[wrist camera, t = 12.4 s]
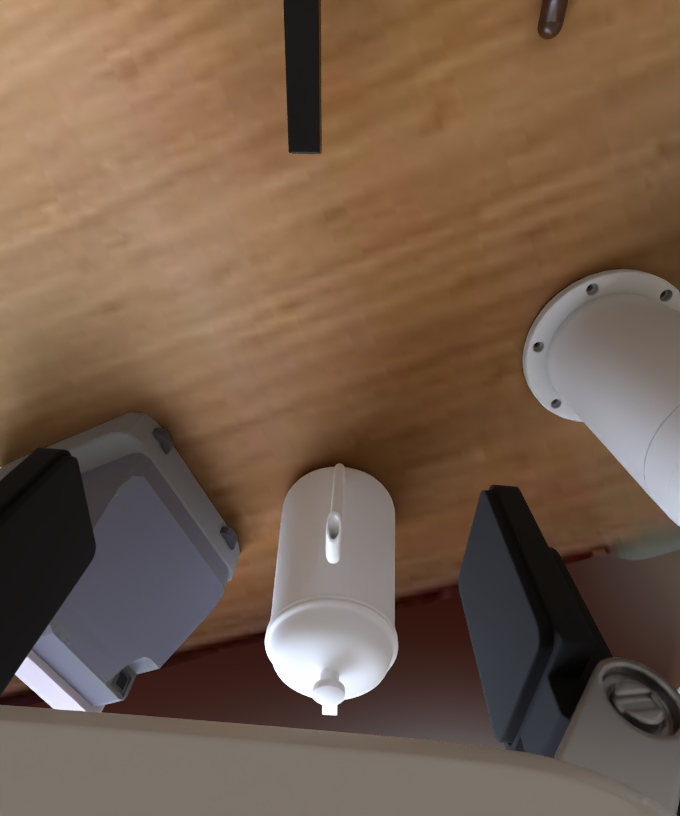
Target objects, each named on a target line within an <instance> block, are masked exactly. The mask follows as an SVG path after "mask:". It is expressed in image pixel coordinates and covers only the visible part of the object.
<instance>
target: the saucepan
mask: <svg viewBox="0 0 680 816" xmlns="http://www.w3.org/2000/svg"><path fill="white" fill-rule="evenodd" d="M284 29H285V58H286V87H287V115H288V144H289V153H292V154H321V153H322V127H321V0H284Z"/></svg>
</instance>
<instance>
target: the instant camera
mask: <svg viewBox="0 0 680 816" xmlns="http://www.w3.org/2000/svg"><path fill="white" fill-rule="evenodd" d="M173 445H174V443H173V439H172V438H171V436H170V434H169V433H168V431H167V430H165V429H163V428H161V427H160V425H159V424H158V423H157V422H156V421H155V420H154V419H152V418H151V417H150V416H148V415H147V414H146V413H126V414H124V415H122V416H119V417H117V418H114V419H112V420H110V421H107V422H105V423H103V424H100V425H98V426H95V427H93V428H91V429H88V430H86V431H83V432H81V433H79V434H76V435H74V436H71V437H69V438H67V439H64V440H62V441H60V442H57V443H55V444H52V445H50V446H48V447H45V448H54V449H65V450H68V451H69V452H70V453H71V456H73V457H76V458H77V460H78V463H79V468H80V472H81V477H82V482H83V486H84V491H85V496H86V500H87V505H88V510H89V514H90V519H91V524H92V528H93V533H94V538H95V542H96V551H95V555H94V558H93V560H92V562H91V563H90V564H89V566H88V567H87V569H86V570H85V572H84V573H83V575H82V576H81V578H80V579H79V581H78V582H77V584H76V585H75V586H74V588H73V589H72V591H71V592H70V594H69V595H68V597H67V598H66V600H65V601H64V603H63V604H62V606H61V607H60V609H59V610H58V611H57V613H56V614H55V616H54V617H53V619H52V620H51V622H50V623H49V625H48V626H47V628H46V629H45V631H44V632H43V634H42V635H41V636H40V638H39V639H38V641H37V642H36V644H35V645H34V647H33V648H32V650H31V651H30V653H29V654H28V656H27V657H26V659H25V660H24V661H23V663H22V664H21V666H20V667H19V669H18V670H17V672H16V673H15V675H16V676H17V677H19V678H20V679H21V680H22V681H23V682H24V683H25V684H26V685H28V686H29V687H30V688H31V689H32V690H33V691H34V692H35V693H36V694H38V695H39V696H40V697H41V698H42V699H43V700H44V701H45V702H47V703H48V704H49V705H50V706H51V707H52V708H53V709H61V710H74V711H87V712H100V713H101V712H102V710H103V708H104V706H105V705H106V704H110V703H114V702H117V701H122V700H124V699H125V698H126V697H127V695H128V693H129V691H130V689H131V686H132V684H133V681H134V680H135V677H136V675H137V674H140V673H144V672H148V671H152V670H155V669H159V668H160V667H161V666H162V665H163V664H164V663H165V662H166V661H167V660H168V658H169V657H170V656H171V655H172V654H173V653H174V652H175V651H176V650H177V649H178V648H179V646H180V645H181V644H182V643H183V642H184V641H185V640H186V639H187V638H188V637H189V635H190V634H191V633H192V632H193V631H194V630H195V629H196V628H197V627H198V626H199V624H200V623H201V622H202V621H203V620H204V619H205V618H206V617H207V616H208V615H209V613H210V612H211V611H212V610H213V609H214V608H215V606H216V605H217V603H218V602H219V600H220V599H221V597H222V595H223V593H224V590H225V587H226V584H227V581H229V580H231V579H232V578H233V574H234V571H235V568H236V565H237V561H238V558H239V555H240V550H239V543H238V542H237V535H236V534H235V532H234V531H233V529H232V528H230V527H227V525H226V524H225V522H224V521H223V519H222V518H221V516H220V515H219V513H218V512H217V510H216V509H215V507H214V506H213V504H212V503H211V501H210V500H209V498H208V497H207V495H206V494H205V492H204V491H203V489H202V488H201V486H200V485H199V483H198V482H197V480H196V479H195V477H194V476H193V474H192V473H191V471H190V470H189V468H188V467H187V465H186V464H185V462H184V461H183V459H182V458H181V456H180V455H179V453H178V452H177V450H176V449H175V447H174V446H173ZM29 455H30V454H29ZM29 455H26V456H24V457H21V458H19V459H17V460H14V461H12V462H9V463H7V464H6V465H4V466H3V467H2V468H1V469H0V480H1V479H2V478H4V477H5V476H6V475H7V474H8V473H9V472H11V471H12V470H13V469H14V468H15V467H16V466H17V465H19V464H20V463H21V462H22V461H23V460H24V459H25V458H27V457H28V456H29Z"/></svg>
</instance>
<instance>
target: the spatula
mask: <svg viewBox="0 0 680 816" xmlns="http://www.w3.org/2000/svg"><path fill="white" fill-rule="evenodd" d="M567 4H568V0H543V4H542V9H541V13H540V18H539V23H538V33H539V35H540V36H541V37H542V38H543V39H552V38H554V37H555V36H556V35H557V34H558V33H559V32H560V30H561V28H562V25H563V21H564V17H565V12H566V8H567Z"/></svg>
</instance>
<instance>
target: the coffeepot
mask: <svg viewBox="0 0 680 816" xmlns="http://www.w3.org/2000/svg"><path fill="white" fill-rule="evenodd" d="M394 613H395V509H394V505H393V501H392V498H391V496H390V494H389V493H388V491H387V490H386V489H385V487H384V486H383V485H382V484H381V483H380V482H379V481H378V480H377V479H375V478H374V477H372V476H371V475H369V474H367V473H365V472H363V471H360V470H357V469H353V468H348V467H344V465H343V464H340V463H339V464H336V465H335V467H327V468H321V469H318V470H315V471H312V472H310V473H308V474H306V475H305V476H303V477H302V478H300V479H299V480H298V481H297V482H296V483H295V484H294V485H293V486H292V487H291V488H290V490H289V491H288V493H287V495H286V497H285V500H284V503H283V508H282V518H281V527H280V537H279V546H278V556H277V565H276V574H275V584H274V593H273V603H272V612H271V620H270V622H269V624H268V627H267V630H266V635H265V648H266V652H267V655H268V657H269V659H270V661H271V662H272V663H273V666H274V669H275V671H276V673H277V674H278V676H279V677H280V678H281V680H282V681H283V682H284V683H285V684H286V685H288V686H289V687H290V688H292V689H294V690H295V691H297V692H299V693H301V694H303V695H306V696H308V697H312V698H313V699H314V700H315V701H316V702H317V703H319V704H322V714H324V715H337V704H340V703H341V702H342V701H343V700H345V699H350V698H354V697H357V696H360V695H362V694H365V693H367V692H369V691H370V690H372V689H373V688H375V687H376V686H377V685H378V684H379V683H380V682H381V681H382V679H383V678H384V677H385V675H386V673H387V671H388V670H389V669H390V667H391V666H392V665H393V663H394V661H395V659H396V656H397V653H398V639H397V633H396V630H395V628H394V619H395V616H394V615H395V614H394Z"/></svg>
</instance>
